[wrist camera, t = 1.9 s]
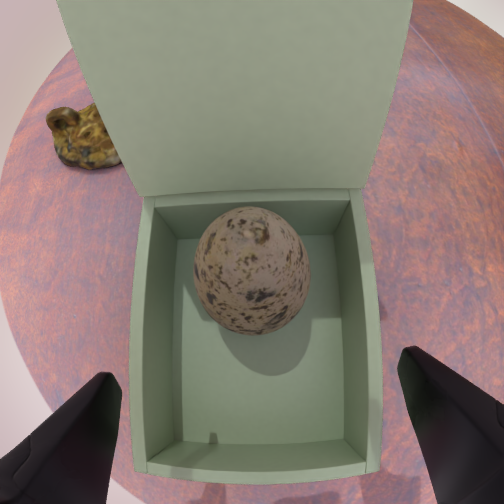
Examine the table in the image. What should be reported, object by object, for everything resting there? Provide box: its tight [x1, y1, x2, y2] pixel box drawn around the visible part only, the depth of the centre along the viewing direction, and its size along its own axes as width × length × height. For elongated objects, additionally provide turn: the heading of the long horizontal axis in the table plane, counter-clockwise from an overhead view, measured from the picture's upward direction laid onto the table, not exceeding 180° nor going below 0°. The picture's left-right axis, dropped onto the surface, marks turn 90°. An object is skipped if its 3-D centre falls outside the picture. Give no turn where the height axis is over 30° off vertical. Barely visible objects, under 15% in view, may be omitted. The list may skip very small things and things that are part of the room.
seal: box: [46, 103, 122, 170], centre depth 25 cm, size 9×5×15 cm
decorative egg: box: [193, 206, 311, 336], centre depth 15 cm, size 6×6×10 cm
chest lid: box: [56, 0, 413, 197], centre depth 10 cm, size 16×13×4 cm
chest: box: [129, 188, 383, 484], centre depth 16 cm, size 16×13×6 cm
